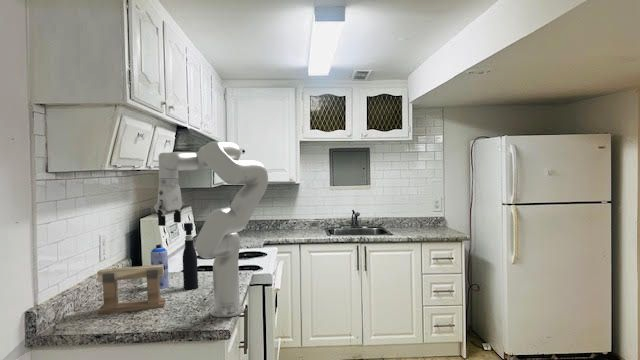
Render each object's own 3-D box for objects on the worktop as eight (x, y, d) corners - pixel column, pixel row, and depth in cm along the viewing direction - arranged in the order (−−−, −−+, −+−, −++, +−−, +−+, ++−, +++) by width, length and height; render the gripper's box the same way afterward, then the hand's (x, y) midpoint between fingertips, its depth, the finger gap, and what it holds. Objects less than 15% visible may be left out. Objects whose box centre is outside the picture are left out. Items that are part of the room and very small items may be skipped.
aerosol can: (160, 289, 206) (158, 246, 205) (147, 288, 210) (145, 245, 209) (172, 285, 213) (171, 243, 212) (160, 284, 217) (159, 242, 216)
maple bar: (163, 276, 181) (162, 266, 181) (98, 282, 175) (97, 271, 175) (163, 274, 185) (163, 264, 185) (100, 279, 179) (99, 269, 179)
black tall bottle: (181, 288, 208) (178, 223, 207) (194, 285, 212) (191, 222, 211) (187, 290, 203) (184, 224, 202) (200, 288, 207) (197, 223, 206)
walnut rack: (163, 307, 179) (162, 269, 179) (98, 314, 173) (96, 275, 173) (165, 301, 187) (163, 265, 187) (102, 308, 181) (100, 271, 181)
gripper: (162, 183, 175) (163, 227, 176) (189, 181, 191) (190, 221, 192) (146, 183, 178) (147, 226, 178) (174, 181, 194) (175, 220, 195)
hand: (169, 224), depth 185 cm, fingers open, 9 cm apart
